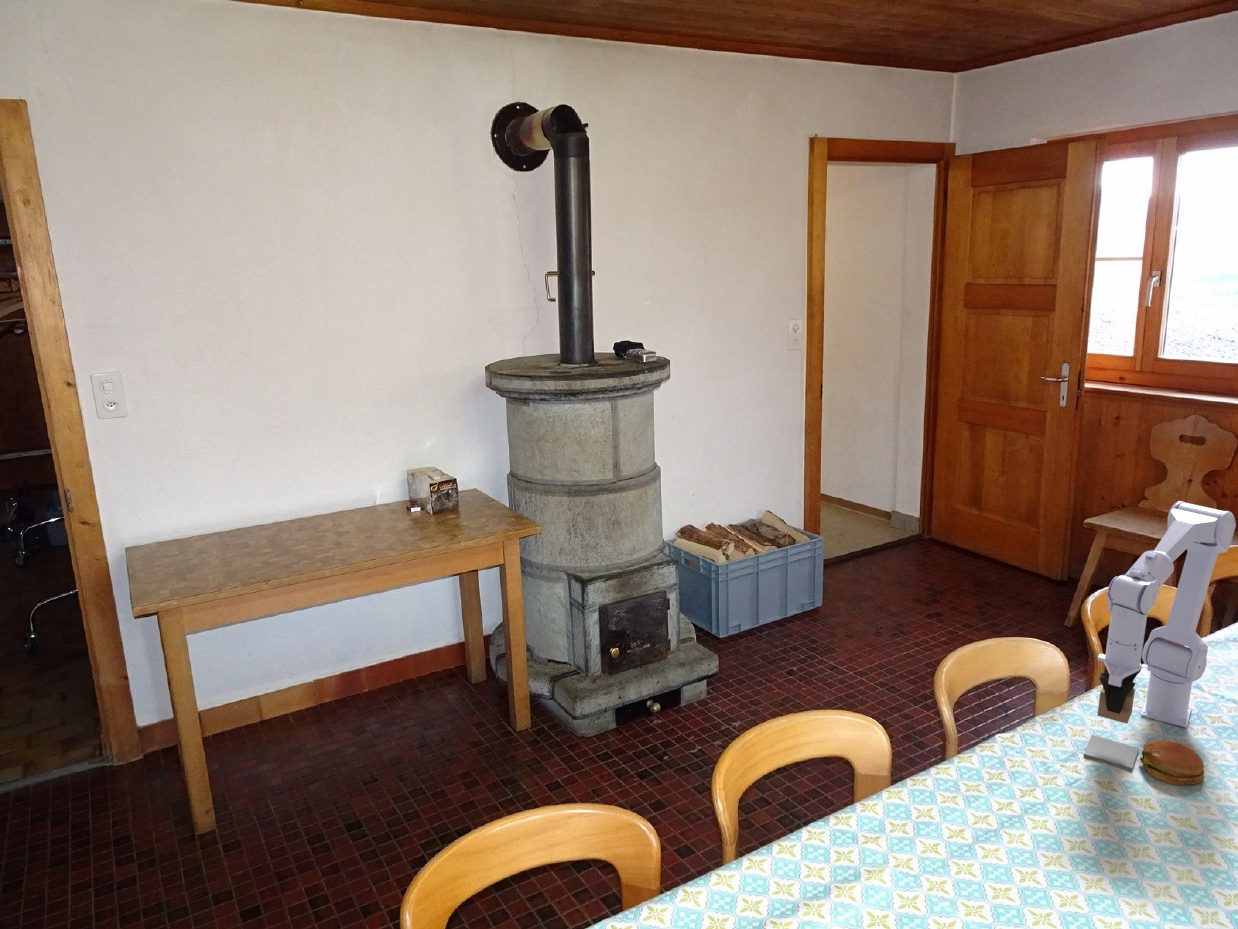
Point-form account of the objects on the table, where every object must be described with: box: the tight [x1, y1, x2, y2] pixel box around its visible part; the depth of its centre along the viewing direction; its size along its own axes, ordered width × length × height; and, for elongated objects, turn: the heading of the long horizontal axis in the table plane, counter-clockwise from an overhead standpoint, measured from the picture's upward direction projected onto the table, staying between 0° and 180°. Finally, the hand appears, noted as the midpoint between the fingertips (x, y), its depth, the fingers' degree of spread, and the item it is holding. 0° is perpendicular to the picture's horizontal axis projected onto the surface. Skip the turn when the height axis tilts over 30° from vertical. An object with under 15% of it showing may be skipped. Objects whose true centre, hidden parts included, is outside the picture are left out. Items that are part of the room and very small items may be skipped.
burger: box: [1139, 739, 1205, 786], centre depth 159 cm, size 10×9×5 cm
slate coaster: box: [1083, 734, 1140, 772], centre depth 165 cm, size 8×8×1 cm
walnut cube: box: [1096, 686, 1136, 725], centre depth 164 cm, size 5×5×5 cm
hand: (1116, 705), depth 164 cm, fingers closed on walnut cube, 5 cm apart
